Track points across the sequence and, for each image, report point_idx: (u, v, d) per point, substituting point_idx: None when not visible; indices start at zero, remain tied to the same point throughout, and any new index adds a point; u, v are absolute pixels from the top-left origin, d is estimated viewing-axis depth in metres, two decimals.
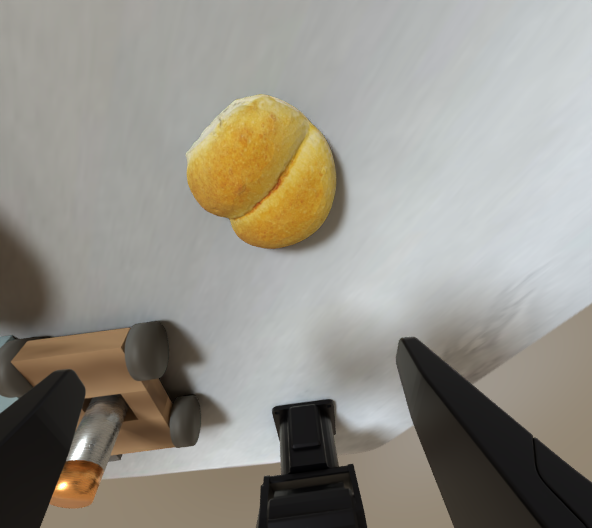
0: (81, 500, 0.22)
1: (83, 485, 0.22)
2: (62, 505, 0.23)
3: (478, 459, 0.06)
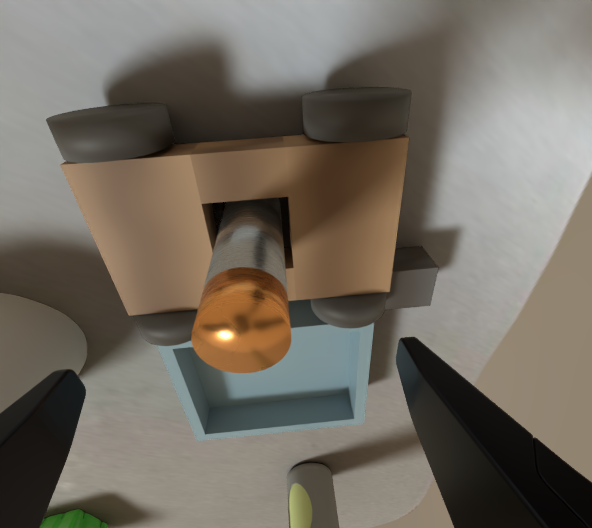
0: (254, 323, 0.10)
1: (207, 304, 0.10)
2: (272, 357, 0.10)
3: (478, 459, 0.06)
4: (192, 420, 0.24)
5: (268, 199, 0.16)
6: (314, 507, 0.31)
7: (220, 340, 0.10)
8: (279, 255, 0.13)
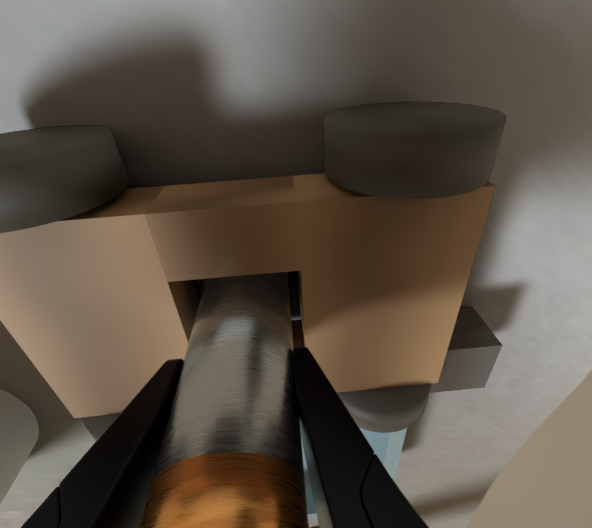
0: None
1: None
2: None
3: (317, 476, 0.06)
4: None
5: None
6: None
7: None
8: (288, 385, 0.08)
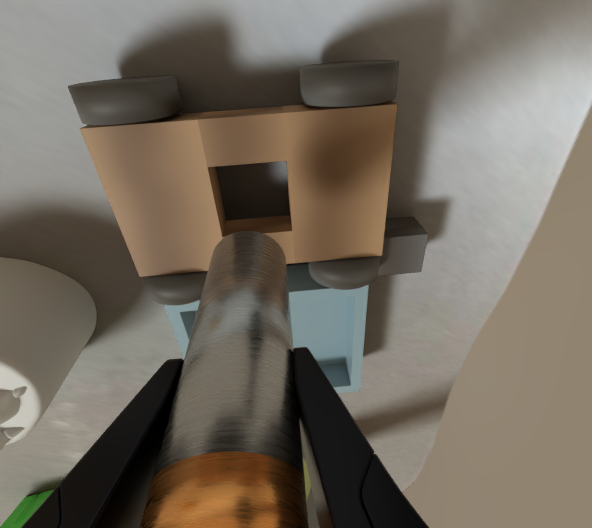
0: None
1: None
2: None
3: (317, 476, 0.06)
4: None
5: (270, 262, 0.11)
6: None
7: None
8: (288, 385, 0.08)
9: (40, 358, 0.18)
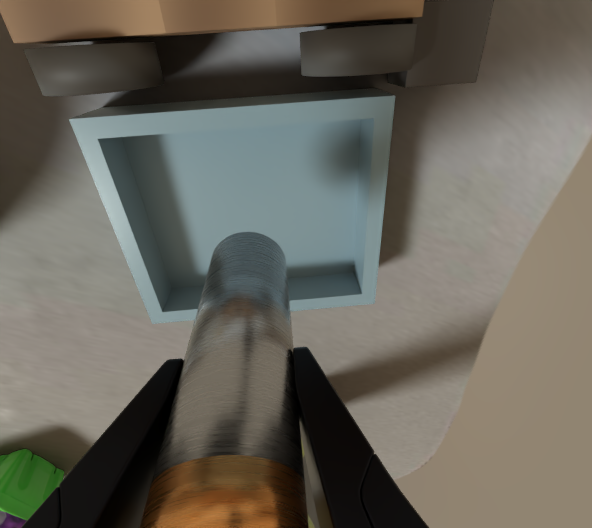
0: None
1: None
2: None
3: (317, 476, 0.06)
4: (142, 285, 0.17)
5: (270, 263, 0.11)
6: None
7: None
8: (288, 387, 0.08)
9: None
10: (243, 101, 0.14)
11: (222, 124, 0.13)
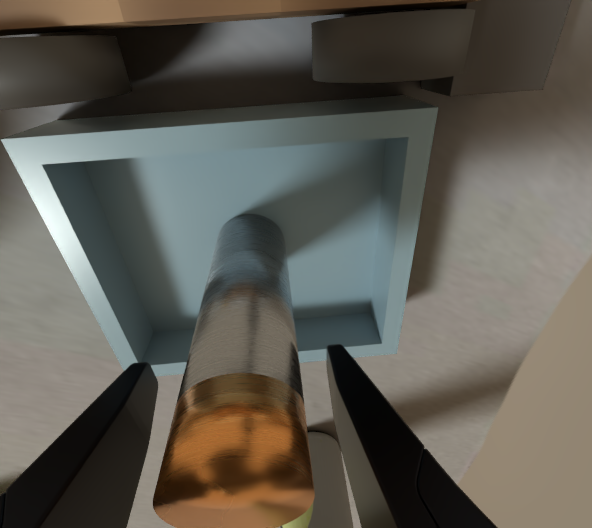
0: (255, 484, 0.06)
1: (179, 456, 0.06)
2: (283, 516, 0.07)
3: (368, 471, 0.06)
4: (113, 337, 0.14)
5: (271, 239, 0.13)
6: (316, 491, 0.21)
7: (201, 504, 0.06)
8: (289, 333, 0.09)
9: None
10: (236, 113, 0.11)
11: (208, 145, 0.10)
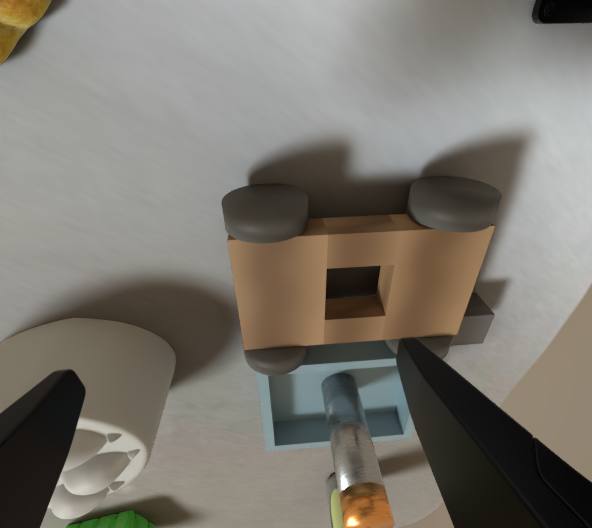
0: (378, 522, 0.19)
1: (356, 513, 0.19)
2: None
3: (478, 459, 0.06)
4: (267, 434, 0.27)
5: (355, 393, 0.26)
6: None
7: (359, 527, 0.19)
8: (375, 457, 0.22)
9: (149, 421, 0.20)
10: (347, 345, 0.24)
11: (339, 368, 0.23)
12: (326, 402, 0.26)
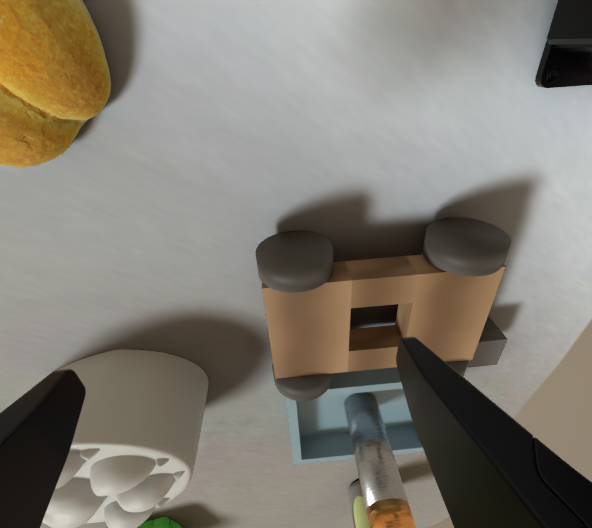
0: None
1: (383, 527, 0.21)
2: None
3: (478, 459, 0.06)
4: (295, 449, 0.29)
5: (376, 412, 0.28)
6: None
7: None
8: (398, 473, 0.24)
9: (191, 445, 0.22)
10: None
11: (361, 390, 0.25)
12: (349, 420, 0.28)
